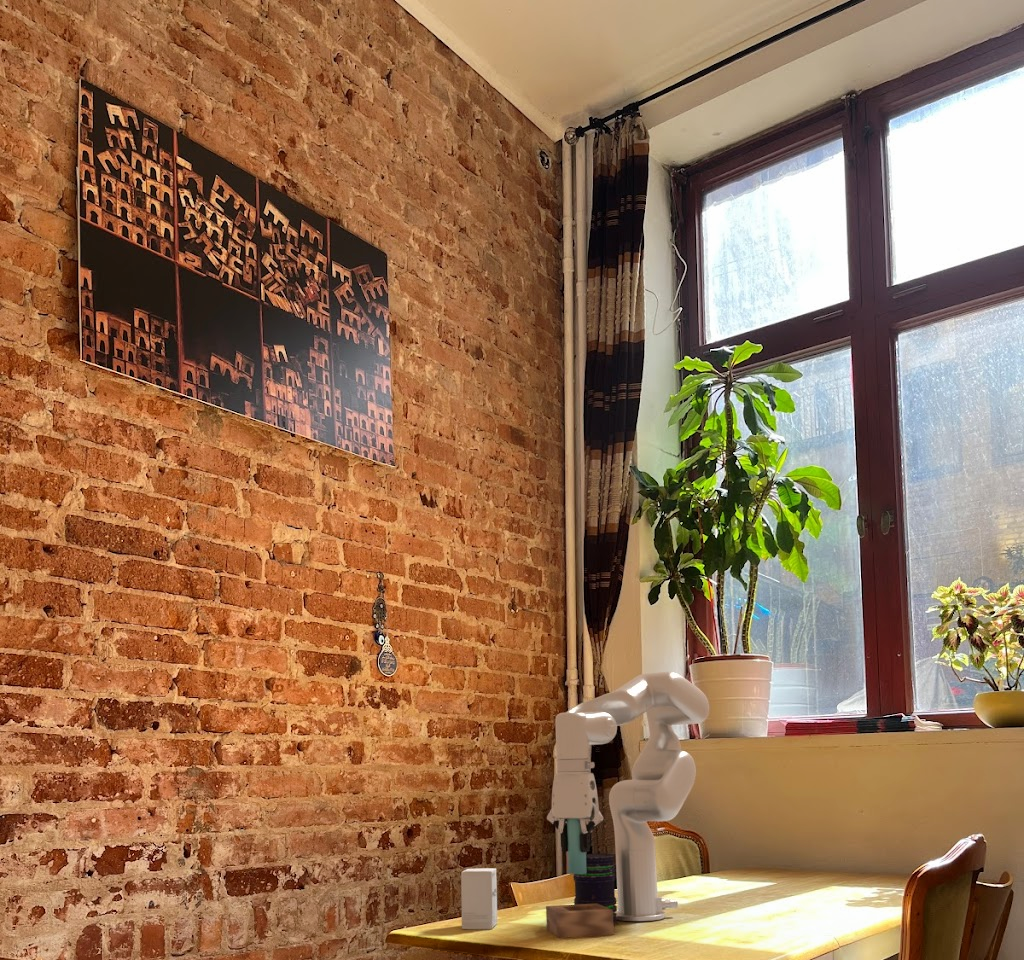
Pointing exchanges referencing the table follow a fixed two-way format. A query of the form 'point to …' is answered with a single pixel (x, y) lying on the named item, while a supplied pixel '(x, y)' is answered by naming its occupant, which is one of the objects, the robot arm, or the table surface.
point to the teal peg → (575, 848)
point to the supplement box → (479, 898)
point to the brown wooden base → (579, 920)
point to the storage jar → (597, 882)
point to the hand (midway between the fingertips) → (575, 850)
